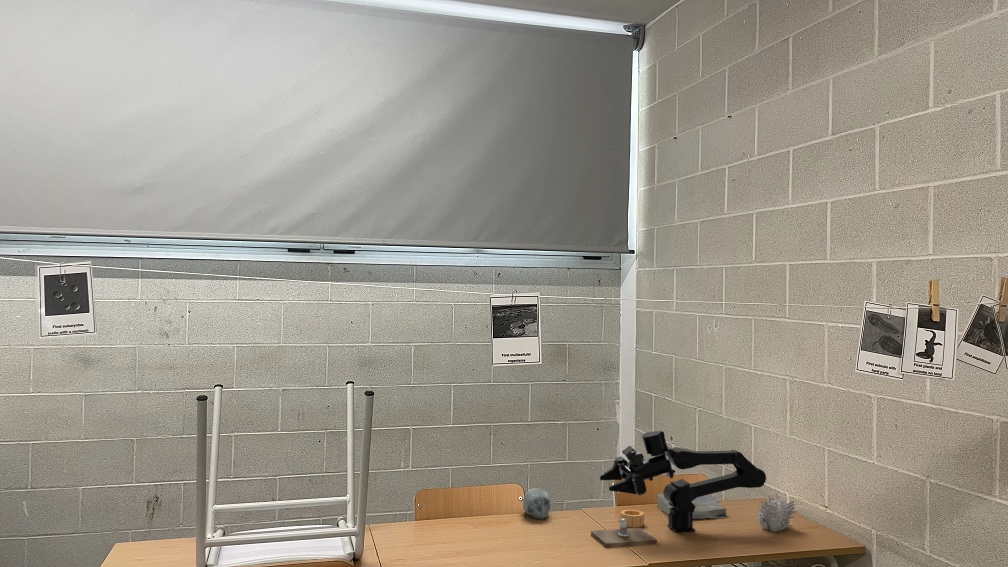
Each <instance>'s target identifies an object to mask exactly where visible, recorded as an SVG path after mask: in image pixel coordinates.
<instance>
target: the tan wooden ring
mask: <svg viewBox="0 0 1008 567" xmlns="http://www.w3.org/2000/svg"><path fill="white" fill-rule="evenodd" d="M621 518H626V519H627V528H642V527H643V526H644V525H645V513H644V512H643V511H642V510H641V511H640V510H636V509H624V510H622V511H620V518H619V519H621Z"/></svg>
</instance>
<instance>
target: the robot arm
mask: <svg viewBox="0 0 1008 567" xmlns="http://www.w3.org/2000/svg"><path fill="white" fill-rule="evenodd" d="M665 437H666V435H665V432H664V431H663V430H658V431H648V432H644V433H643V434H642V435H641V438H642V441H643V446H644V448H645V452H646V454H647V455H650V456H651V457H650V458H647V459H645V456H644V455H643V453H642V452H640V451H636V449H634V448H633V447H632V446H631V445H628V446H627V447H626V448H624V449H623V450H621V452H622V454H623V455H624V456H625V457H626V458H627V459H626V458H624V457H622V456H617V457H615V458H614V461H613V465H612V467H611V468H609V469H608V470H607V471H605V473H604V472H603V474H601V475H600V476H599V480H600V481H618V482H616V483H614V484H612V485H610V486H608V490H609V491H610V492H618V493H625V494H633V495H634V496H636V495H638V496H639V497H640V496H643V495H645V493H646V492H647V487H646V482H645V481H646V480H648V481H650V482H652V481H654V478H655V477H659V476H661V475H664V474H666V476H667V477H668V478H670V479H673V477H674V476H675V473H676V470H675V469H673V468H672V467H673V466H674V467H676V468H677V469H679V470H688V469H692V468H696V467H697V466H701V465H703V466H704V465H707V466H708V465H709V466H711V465H732V466H733V467H734V468H735V470H734V471H733V472H731V473H729V474H725V475H720V476H717V477H712V478H708V479H705V480H700V481H696V482H692V483H689V482H688V481H687V480H684V479H683V478H681V479H678V480H676V481H675V480H674V481H670V483H668V484H666V485H665V487H664V489H663V492H662V493H663V495H664V498H665V499H666V500H667V501H668V502H669V505H670V506H672V507H673V508H670V513H669V516H668V524H667V527H668V528H669V529H671V530H672V531H674V532H675V533H676V532H677V533H682V532H685V533H686V532H696V529H695V528H694V527H693V526H694V525H693V522H694V520H693V512H694V509H695V505H694V504H693V503H692V501H693V500H694V499H696V498H697V497H701V496H705V495H709V496H710V495H713V494H717V493H720V492H724V491H727V490H728V491H729V490H733V489H736V488H749V489H753V488H754V489H755V488H756V489H757V488H761V487H764V485H765V483H766V482H767V475H766V473H765V471H764V470H763V469H760V468H759V467H756V466H755V465H754V464H753V463H752V462H751V461H749V459H747V458H746V457H745V455H744V454H743V453H742V452H740V451H738V450H735V449H731V450H692V449H689V448H688V449H687V448H683V447H679V446H678V447H669V446H668V445H667V441H666V438H665ZM627 460H628V461H627Z"/></svg>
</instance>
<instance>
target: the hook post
mask: <svg viewBox="0 0 1008 567" xmlns="http://www.w3.org/2000/svg"><path fill="white" fill-rule="evenodd" d="M617 521H618V523H619V529H620V532H618V533H617V535H618V536H619V537H629V536H630V533H628V532H627V529H628V527H627V519H626V518H621V519H620V518H619V519H618V520H617Z"/></svg>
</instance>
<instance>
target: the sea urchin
mask: <svg viewBox="0 0 1008 567" xmlns="http://www.w3.org/2000/svg"><path fill="white" fill-rule="evenodd" d="M775 496H776V499H775V498H774V494H772V495H771V496H770V495H767V497H768V499H769V500H768V501H767V500H765V501H760V503H761V507H760V508H758V510H759V511H760V512H759V513H758V514H756V517H758V518H757V520H758V523H759V525H760V527H762V529H763V528H764V529H765V530H770V531H771V532H774V533H775V532H779V531H780V532H781V531H783V530H785V529H787V528H788V527H789V528H790V527H794V526H793V525H791V524H790V523H791V522H790V521H791V519H793V518H796V516H793V514H794V513H797V512H798V510H794V509H795V503H794V502H795V501H794V500H792V501H789V502H788V503H787V502H786V499H784V500H781V499H780V498H781V496H778V493H777V492H775ZM785 502H786V503H785Z"/></svg>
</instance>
